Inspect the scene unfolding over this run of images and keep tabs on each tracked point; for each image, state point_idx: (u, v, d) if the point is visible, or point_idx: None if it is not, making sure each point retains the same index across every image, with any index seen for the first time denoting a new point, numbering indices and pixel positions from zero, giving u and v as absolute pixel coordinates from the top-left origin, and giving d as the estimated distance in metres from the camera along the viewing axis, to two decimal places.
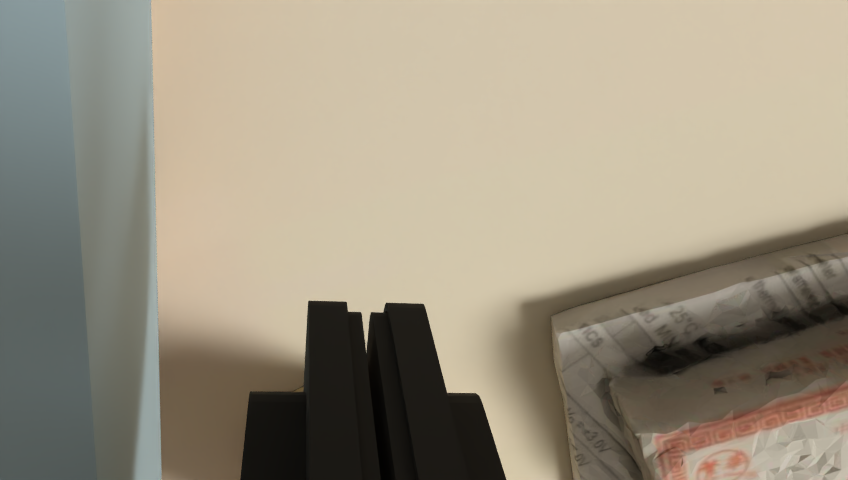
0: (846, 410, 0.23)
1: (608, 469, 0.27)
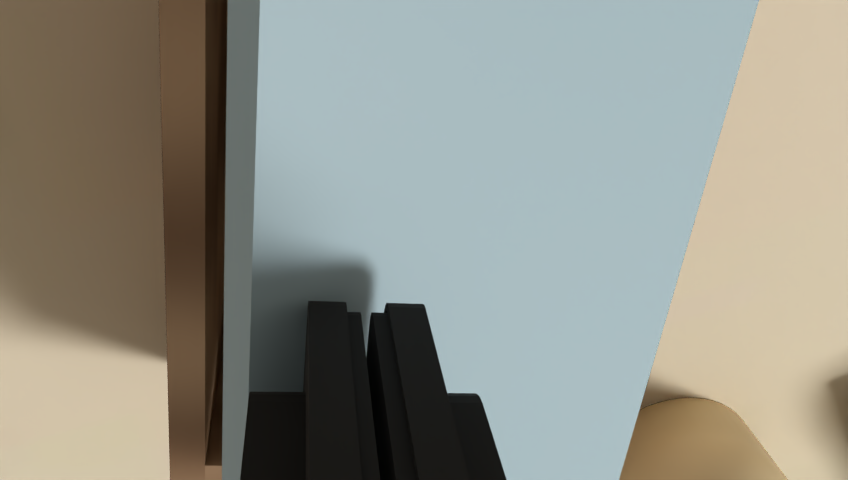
0: None
1: None
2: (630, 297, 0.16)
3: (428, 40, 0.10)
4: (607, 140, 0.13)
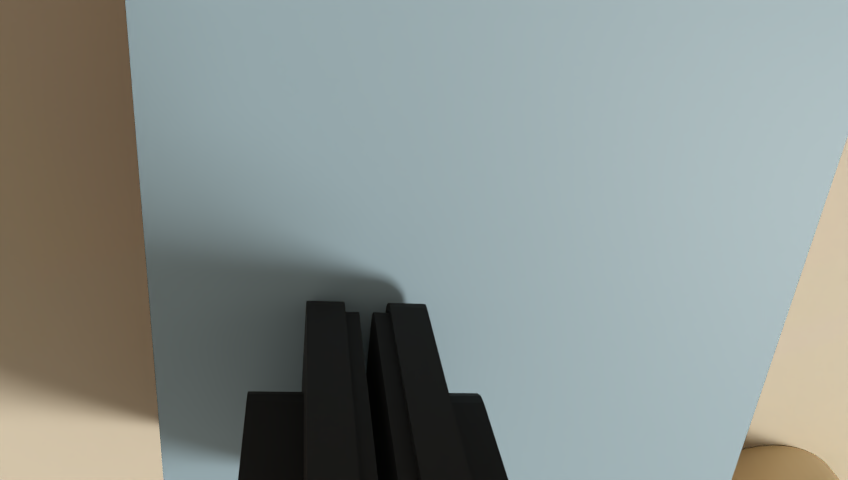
0: None
1: None
2: (694, 356, 0.13)
3: (345, 11, 0.09)
4: (634, 155, 0.11)
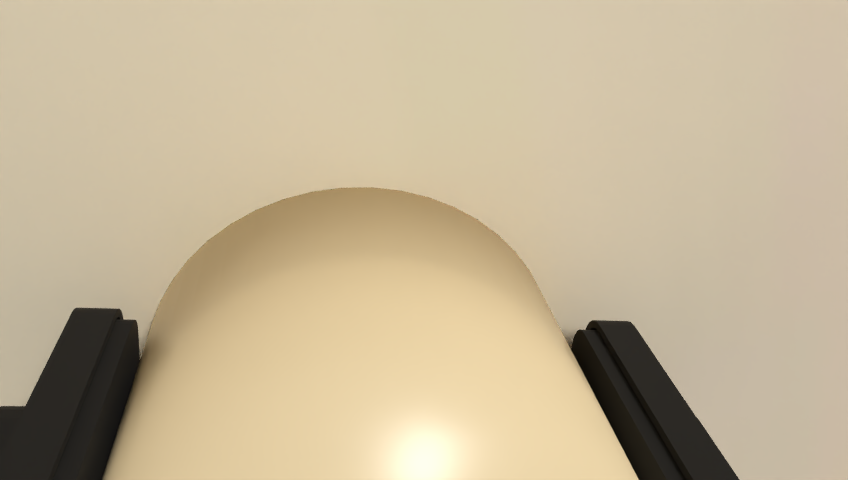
0: None
1: None
2: None
3: None
4: None
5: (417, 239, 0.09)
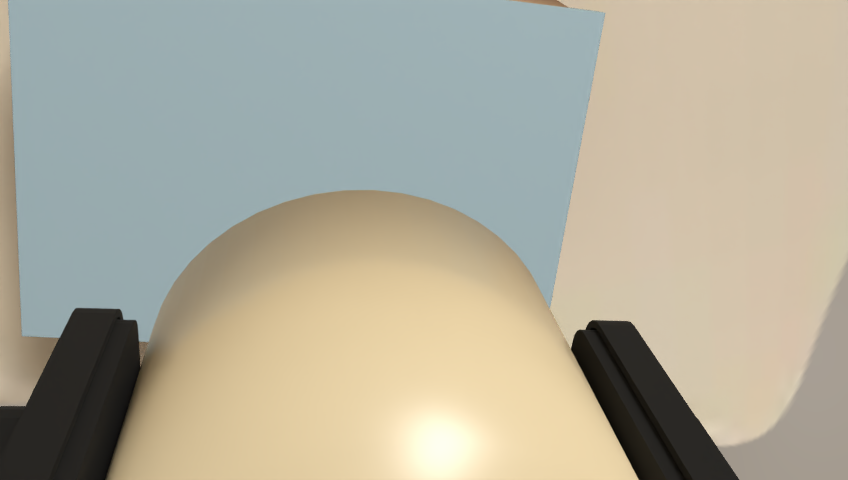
0: None
1: None
2: (336, 45, 0.20)
3: (110, 257, 0.21)
4: (186, 107, 0.20)
5: (418, 241, 0.09)
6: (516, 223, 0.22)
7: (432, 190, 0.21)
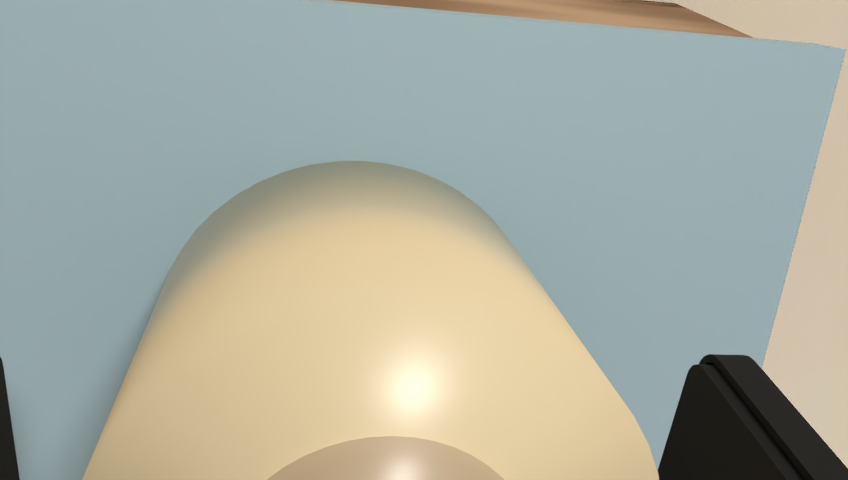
0: None
1: None
2: (397, 121, 0.12)
3: (31, 475, 0.13)
4: (144, 235, 0.12)
5: (404, 191, 0.10)
6: (681, 384, 0.14)
7: None
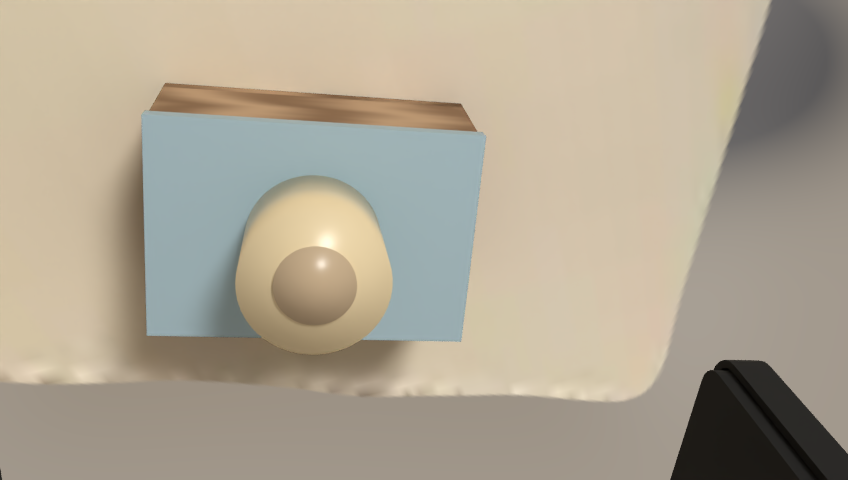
0: None
1: None
2: (328, 162, 0.34)
3: (198, 287, 0.35)
4: (242, 200, 0.34)
5: (327, 185, 0.33)
6: (440, 259, 0.36)
7: (388, 242, 0.36)
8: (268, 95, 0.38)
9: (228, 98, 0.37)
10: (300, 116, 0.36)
